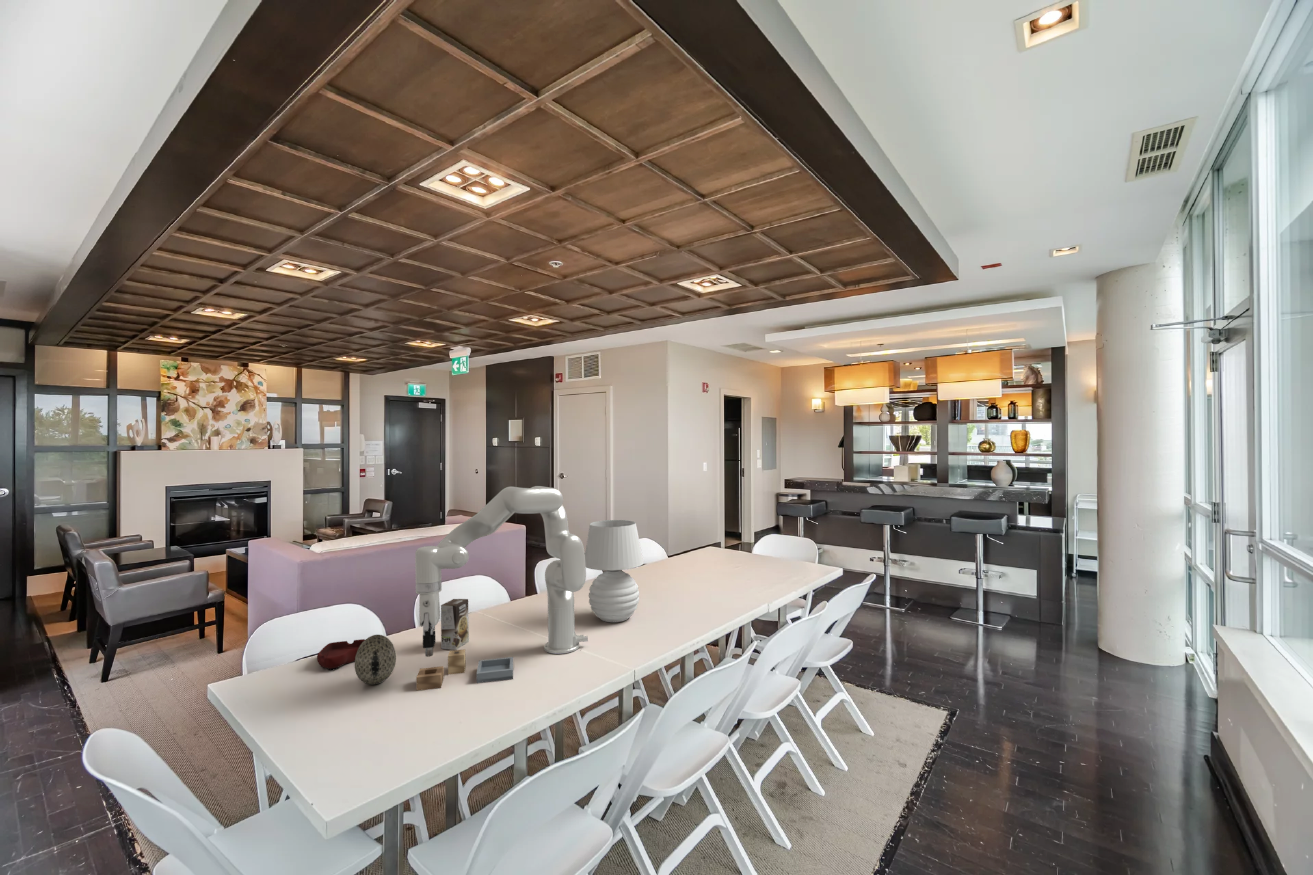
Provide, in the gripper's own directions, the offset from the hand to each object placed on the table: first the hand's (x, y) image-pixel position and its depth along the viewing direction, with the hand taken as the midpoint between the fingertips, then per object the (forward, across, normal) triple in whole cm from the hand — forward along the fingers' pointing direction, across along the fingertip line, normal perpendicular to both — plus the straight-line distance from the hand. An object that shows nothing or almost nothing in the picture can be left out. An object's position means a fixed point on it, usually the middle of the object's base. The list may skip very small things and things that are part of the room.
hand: (429, 645), depth 179 cm
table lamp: (+12, +48, -66) cm, 83 cm away
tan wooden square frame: (+12, 0, 0) cm, 12 cm away
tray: (+12, +3, -20) cm, 23 cm away
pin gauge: (+3, 0, 0) cm, 3 cm away
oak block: (+12, +9, -7) cm, 17 cm away
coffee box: (+12, +34, -4) cm, 37 cm away
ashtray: (+13, +30, +33) cm, 46 cm away
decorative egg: (+13, +6, +17) cm, 22 cm away
